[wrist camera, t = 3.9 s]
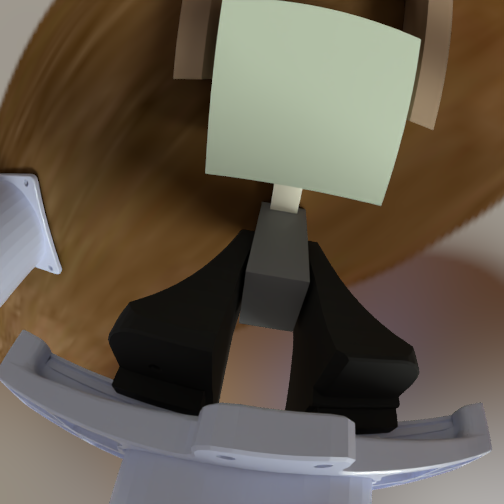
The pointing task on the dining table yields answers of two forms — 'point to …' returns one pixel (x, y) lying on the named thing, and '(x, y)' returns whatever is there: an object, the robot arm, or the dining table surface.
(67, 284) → the dining table surface
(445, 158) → the dining table surface
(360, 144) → the sage block
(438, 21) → the frame
